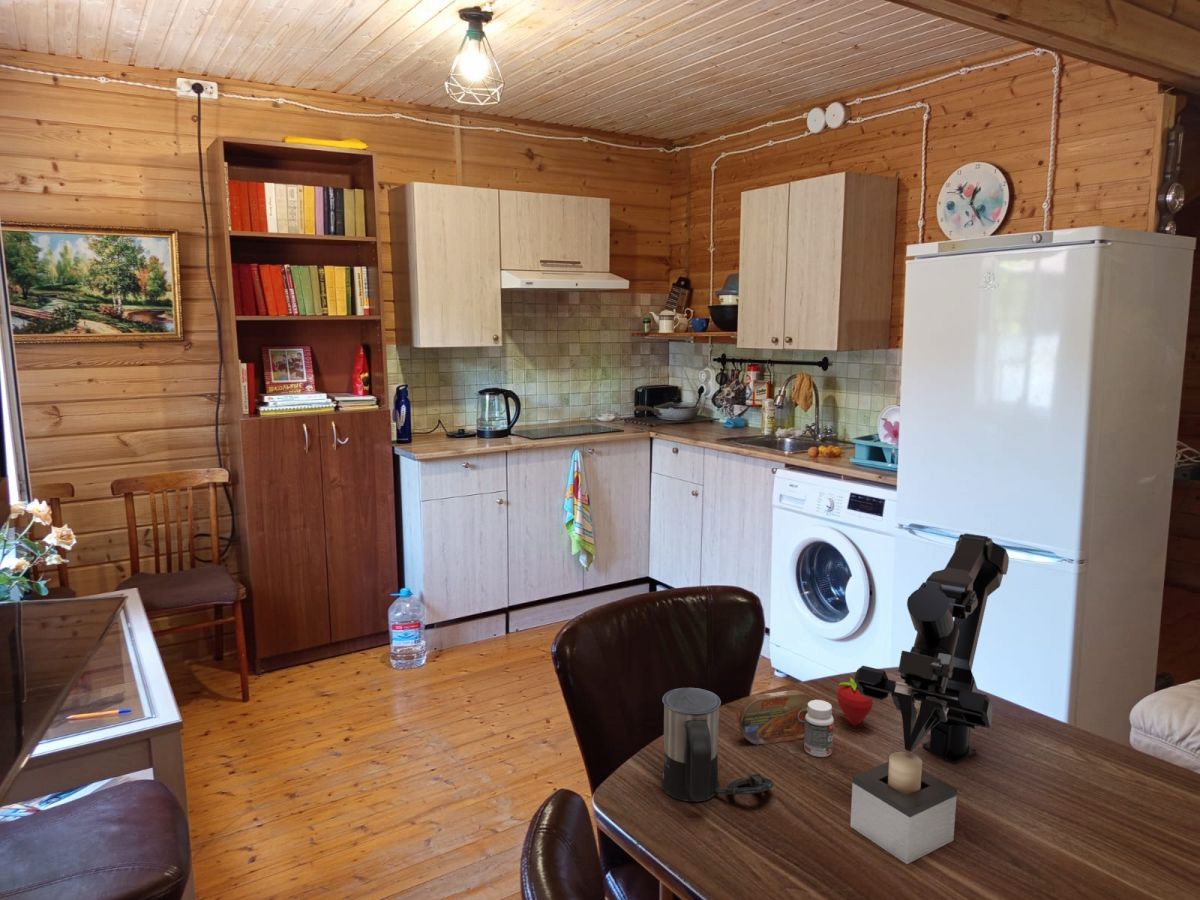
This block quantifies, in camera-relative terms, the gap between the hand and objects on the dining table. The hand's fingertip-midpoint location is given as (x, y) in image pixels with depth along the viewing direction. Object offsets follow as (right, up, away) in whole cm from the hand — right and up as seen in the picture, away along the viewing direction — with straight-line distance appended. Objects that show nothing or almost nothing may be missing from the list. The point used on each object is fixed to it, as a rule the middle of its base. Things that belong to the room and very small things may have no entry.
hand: (907, 750), depth 119 cm
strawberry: (+2, -8, +33) cm, 34 cm away
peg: (0, -9, +1) cm, 9 cm away
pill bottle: (-6, -9, +24) cm, 27 cm away
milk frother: (-26, -11, +13) cm, 31 cm away
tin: (-13, -8, +29) cm, 32 cm away
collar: (0, -13, +1) cm, 13 cm away
